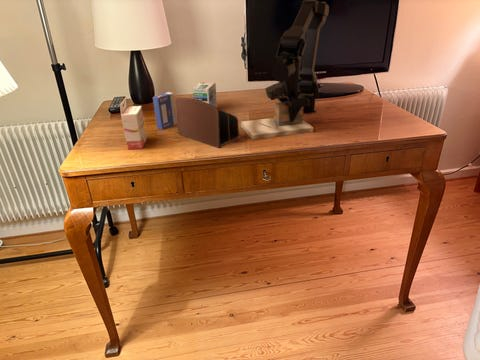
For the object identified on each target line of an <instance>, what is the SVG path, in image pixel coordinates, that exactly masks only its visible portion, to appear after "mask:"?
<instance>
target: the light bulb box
mask: <svg viewBox="0 0 480 360" xmlns="http://www.w3.org/2000/svg"><path fill="white" fill-rule="evenodd" d="M216 89H217V87H216V82H208V81H207V82H203V81H200V82H199V83H197V84H196V85H195V86H194V87H192V94H193V98H192V99H196V100H199V101H202V102H205V103H208V104H211V105H213V106H215V107H217V108H218V104H217V90H216Z"/></svg>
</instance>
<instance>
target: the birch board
mask: <svg viewBox="0 0 480 360" xmlns="http://www.w3.org/2000/svg"><path fill="white" fill-rule="evenodd" d="M240 126H241V128H242V129H243V130H244V131H245V132H246V133H247V135H248V136H249V137H250V138H251V140H258V139H259V140H262V139H267V138H268V139H269V138H273V137H275V138H276V137H282V136H291V135H296V134H304V133H313V132H314V127H313V126H312V125H311V124H310V123H308V122H307V121H306V120H304V119H303V123H299V124H291V125H283V126H278V125H277V124H276V123H275V122H274V117H269V118H260V119H253V120H252V119H251V120H245V121H244V120H243V121H240Z"/></svg>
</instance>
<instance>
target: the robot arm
mask: <svg viewBox="0 0 480 360" xmlns="http://www.w3.org/2000/svg"><path fill="white" fill-rule="evenodd" d="M329 11H330V6H329V4H327V2H326V1H318V0H302V1H301V5H300V9H299V10H298V14H297V15H296V18H295V20H294V22H293V24H292V26H291V27H290V28H288V29H287V30H285V31H284V33H283V34H282V36H281V38H280V40H279V43H278V46H277V47H278V48H277V50H276V54H275V59H277V63H275V64H274V65H273V66H272V69H271V72H270V73H271V76H272V78H273V80H274V81H275V82H276V83H273V84H272V85H270V86H268V87H266V88H265V89H264V90H265V93H266V95H267V98H268V99H269V100H271V101H275V100H276V99H277V100H278V101H279V102H287V101H288V103H287V104H285V105H286V106H287V107H288V108H289V116H290V122H293V121H294V119H295V118H296V116H297V114H298V112H299V111H300V109H301V108H302V107H304V108H303V115H305V114H313V113H317V110H316V109H315V105H316V104H315V103H316V98H319V97H320V88H319V87H320V86H319V84H318V77H317V74H316V72H315V66H316V59H317V53H318V46H319V45H318V44H319V40H320V32H321V29H322V28H323V26H324V25H325V23H326V22H327V17H328V15H329ZM302 57H303V58H302ZM301 59H302V64H301ZM301 65H302V66H301Z"/></svg>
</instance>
